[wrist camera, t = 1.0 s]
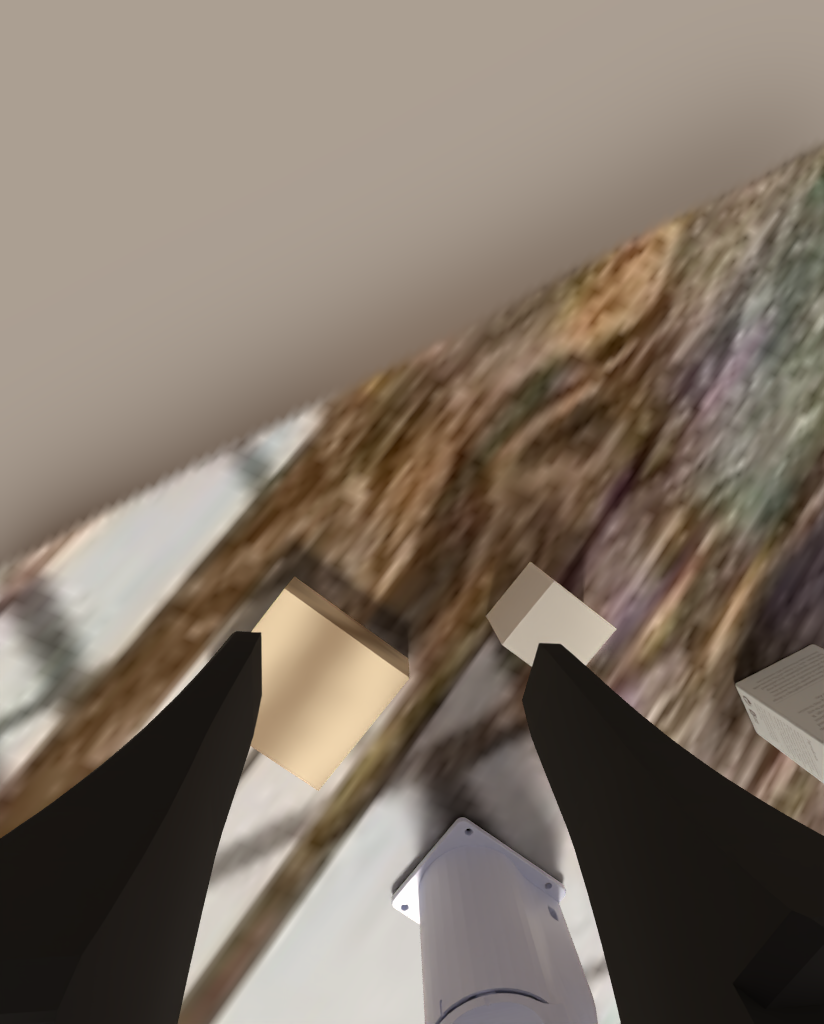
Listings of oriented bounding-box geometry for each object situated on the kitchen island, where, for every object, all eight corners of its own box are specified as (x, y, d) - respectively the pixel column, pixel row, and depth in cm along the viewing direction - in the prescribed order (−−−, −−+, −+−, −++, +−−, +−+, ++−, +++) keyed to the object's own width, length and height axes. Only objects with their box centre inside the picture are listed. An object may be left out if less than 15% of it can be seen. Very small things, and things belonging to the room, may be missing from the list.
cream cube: (582, 602, 29) (616, 628, 25) (538, 655, 30) (564, 691, 25) (529, 561, 29) (554, 580, 24) (485, 615, 29) (501, 644, 25)
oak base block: (408, 655, 30) (409, 678, 27) (325, 757, 30) (318, 790, 28) (295, 574, 29) (284, 588, 26) (213, 682, 30) (193, 707, 27)
